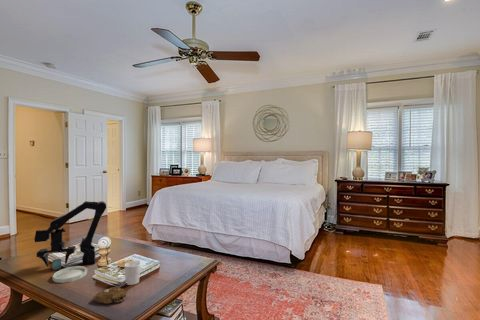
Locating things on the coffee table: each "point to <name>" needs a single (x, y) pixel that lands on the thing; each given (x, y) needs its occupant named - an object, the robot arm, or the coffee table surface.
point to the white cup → (132, 272)
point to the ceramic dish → (69, 274)
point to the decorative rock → (110, 295)
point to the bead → (56, 264)
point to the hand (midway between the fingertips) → (56, 265)
